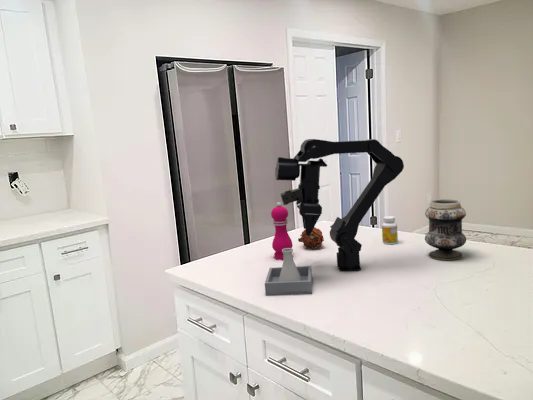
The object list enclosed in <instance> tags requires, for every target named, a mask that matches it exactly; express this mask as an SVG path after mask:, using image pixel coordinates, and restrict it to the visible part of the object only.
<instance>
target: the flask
mask: <svg viewBox="0 0 533 400" xmlns="http://www.w3.org/2000/svg"><path fill="white" fill-rule="evenodd" d="M293 250H294V249H293V247H292V248H284V249H282V253H283V257H284V258H283V260H282V266H281V267H282V269H281V273H280V277H279V281H278V282H284V281H302V278H301V276H300V274H299V272H298V270H297V265H296V263H295V260H294V257H293Z"/></svg>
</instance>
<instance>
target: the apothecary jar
mask: <svg viewBox="0 0 533 400" xmlns="http://www.w3.org/2000/svg"><path fill="white" fill-rule="evenodd" d="M424 215H425V217H426V218H427V219H428V232H427V233H426V234H425V236H424V241H425V243H426V244H427V245H429V246H430V247H432V248H435V250H432V251H430V252H429V253H428V256H429V257H430V258H431V259H435V260H438V261H456V260H461V259H462V258H463V257H464V256H463V253H461V252H459V251H458V250H455V249H459V248H461V247H463V246H464V245H465V244H466V243H467V237H466V235H465V234H464V233H463V219H464V218H465V217H466V216H467V211H466V210H465V209H464V208H463V207H462V205H461V201H460V200H458V199H453V198H437V199H432V200H431V201H430V205H429V207H427V208H426V209H425V211H424Z"/></svg>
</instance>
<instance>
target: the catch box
mask: <svg viewBox="0 0 533 400" xmlns="http://www.w3.org/2000/svg"><path fill="white" fill-rule="evenodd" d="M296 267H297V270H298V272H299V274H300V276H301V278H302V281H284V282H278V281H279V277H280V273H281V269H282V266H279V267H269V269H268V272H267V275H266V278H265V281H264V289H265V296H283V295H284V296H286V295H290V296H291V295H312V294H313V271H312V270H313V269H312V265H302V266H301V265H300V266H298V265H296Z"/></svg>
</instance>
